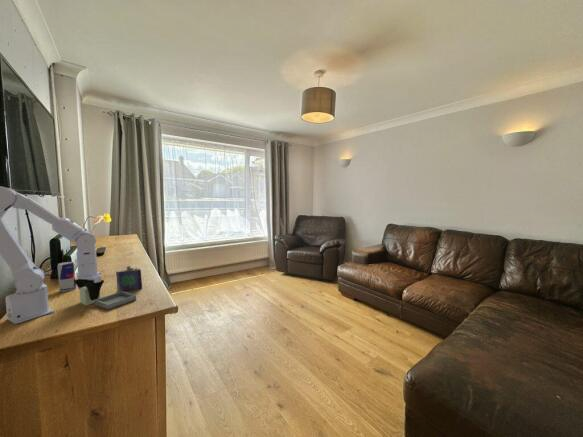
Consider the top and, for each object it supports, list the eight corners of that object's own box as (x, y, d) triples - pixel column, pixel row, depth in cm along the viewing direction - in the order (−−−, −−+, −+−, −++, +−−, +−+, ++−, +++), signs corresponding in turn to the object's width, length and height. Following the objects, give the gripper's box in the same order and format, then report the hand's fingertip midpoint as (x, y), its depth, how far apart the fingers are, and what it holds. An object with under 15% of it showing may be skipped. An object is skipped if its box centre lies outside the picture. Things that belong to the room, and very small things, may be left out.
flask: (116, 292, 101) (114, 267, 101) (119, 290, 104) (117, 266, 103) (141, 289, 104) (139, 265, 104) (143, 287, 107) (141, 264, 106)
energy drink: (72, 290, 104) (70, 264, 103) (57, 292, 102) (54, 265, 101) (78, 286, 109) (76, 261, 108) (63, 288, 107) (61, 262, 106)
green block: (86, 305, 89) (84, 289, 89) (80, 303, 91) (79, 287, 91) (100, 300, 93) (99, 285, 93) (94, 298, 95) (93, 284, 95)
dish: (108, 310, 85) (107, 304, 85) (94, 305, 89) (94, 300, 89) (136, 300, 93) (136, 295, 93) (122, 295, 98) (122, 291, 98)
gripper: (109, 262, 91) (111, 297, 92) (90, 259, 98) (93, 291, 99) (86, 267, 85) (89, 304, 86) (68, 263, 92) (71, 297, 93)
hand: (90, 297), depth 92 cm, fingers open, 6 cm apart
